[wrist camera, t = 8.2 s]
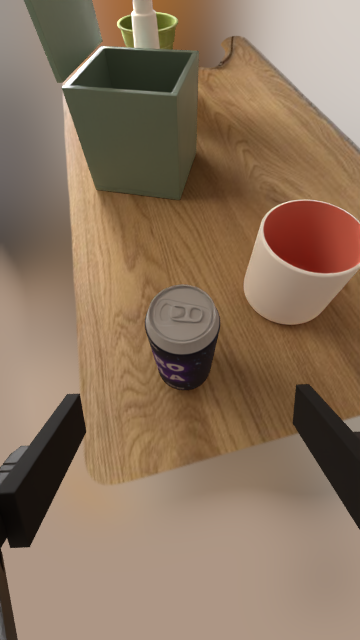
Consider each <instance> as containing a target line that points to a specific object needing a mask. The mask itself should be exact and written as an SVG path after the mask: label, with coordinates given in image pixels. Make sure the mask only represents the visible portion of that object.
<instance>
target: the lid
mask: <svg viewBox="0 0 360 640" xmlns="http://www.w3.org/2000/svg"><path fill="white" fill-rule="evenodd" d="M24 2H25V4H26V7H27V9H28V11H29V14H30V17H31V19H32V21H33V24H34V26H35V29H36V31H37V34H38V36H39V39H40V41H41V44H42V46H43V49H44V51H45V54H46V56H47V58H48V61H49V63H50V66H51V68H52V71H53V73H54V76H55V78H56V81H57V83H63V82H64V81H65V80H66V78H67V77H68V76H69V75H70V74H71V73H72V72H73V71H74V70H75V69H76V68H77V67H78V66H79V65H80V64H81V63H82V62H83V61H84V60H85V59H86V58H87V57H88V56H89V55H90V54H91V53H92V52H93V51H94V49H95V48H96V47H97V46H98V45H99V44H100V43H101V42H102V37H101V33H100V30H99V26H98V22H97V19H96V14H95V10H94V7H93V3H92V0H24Z"/></svg>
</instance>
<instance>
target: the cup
mask: <svg viewBox="0 0 360 640" xmlns="http://www.w3.org/2000/svg"><path fill="white" fill-rule="evenodd" d="M359 269H360V222H359V221H358V220H357V219H356V218H355V217H354V216H353V215H351V214H350V213H348V212H347V211H345V210H343V209H341V208H340V207H337V206H335V205H332V204H329V203H326V202H322V201H316V200H293V201H288V202H285V203H282V204H280V205H277V206H276V207H274V208H272V209H271V210H270V211H269V212H268V213H267V214H266V215H265V216H264V218H263V220H262V222H261V225H260V228H259V231H258V235H257V238H256V241H255V245H254V248H253V251H252V255H251V258H250V261H249V265H248V268H247V271H246V275H245V278H244V292H245V296H246V298H247V300H248V302H249V304H250V305H251V306H252V308H253V309H254V310H255V311H256V312H257V313H258V314H260V315H261V316H263V317H264V318H266V319H268V320H270V321H273V322H276V323H280V324H287V325H295V324H301V323H305V322H308V321H310V320H312V319H314V318H315V317H317V316H318V315H319V314H320V313H321V312H322V311H323V310H324V309H325V308H326V306H327V305H328V304H329V303H330V302H331V301H332V300H333V298H334V297H335V296H336V295H337V294H338V293H339V292H340V290H341V289H342V288H343V287H344V286H345V285H346V284H347V283H348V281H349V280H350V279H351V278H352V277H353V276H354V275H355V273H356V272H357V271H358V270H359Z"/></svg>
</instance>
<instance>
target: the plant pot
mask: <svg viewBox="0 0 360 640" xmlns="http://www.w3.org/2000/svg"><path fill="white" fill-rule="evenodd" d="M156 18H157V27H158V36H159V46H160V49H170V50H172V49H173V42H174V36H175V27H176V25H177V24H178V20H177V18H176V17H174V16H172V15H169V14H164V13H157V12H156ZM117 25H118V27H119V28H120V29H121V32H122V35H123V39H124V43H125V45H126V47H130V48H134V38H133V27H132V15H129V16H126V17H123V18H122V19H120V20H119V21H118V23H117Z"/></svg>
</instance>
